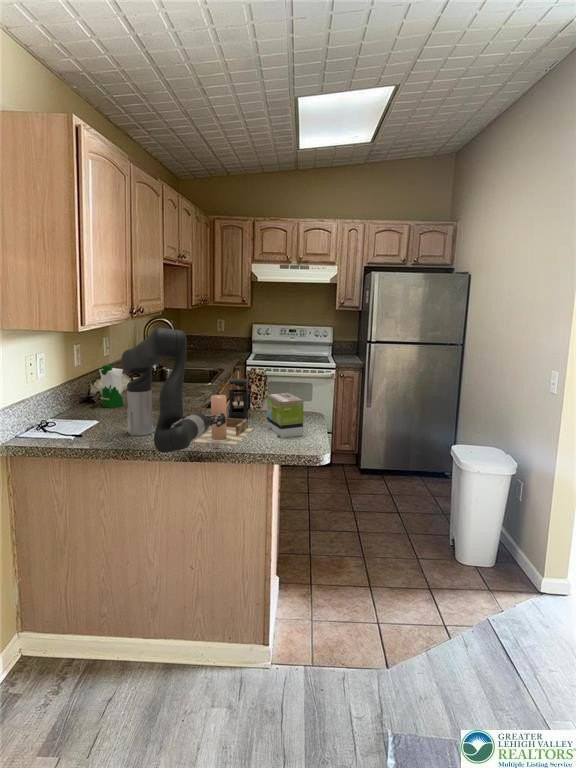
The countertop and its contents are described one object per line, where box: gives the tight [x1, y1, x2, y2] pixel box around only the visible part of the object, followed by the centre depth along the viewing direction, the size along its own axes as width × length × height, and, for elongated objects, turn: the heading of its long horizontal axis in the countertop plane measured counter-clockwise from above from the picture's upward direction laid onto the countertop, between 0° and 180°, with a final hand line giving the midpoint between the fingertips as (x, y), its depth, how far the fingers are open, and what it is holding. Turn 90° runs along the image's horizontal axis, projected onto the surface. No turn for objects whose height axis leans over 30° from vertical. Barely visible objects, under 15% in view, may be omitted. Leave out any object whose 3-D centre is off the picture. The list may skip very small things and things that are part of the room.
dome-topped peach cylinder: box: [210, 394, 227, 440], centre depth 201 cm, size 8×6×16 cm
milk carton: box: [99, 364, 124, 409], centre depth 257 cm, size 9×9×20 cm
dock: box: [193, 417, 255, 446], centre depth 207 cm, size 25×16×4 cm, turn 167°
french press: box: [227, 365, 251, 419], centre depth 237 cm, size 12×9×23 cm
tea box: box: [266, 392, 304, 439], centre depth 214 cm, size 15×10×15 cm, turn 24°
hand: (211, 415), depth 192 cm, fingers open, 8 cm apart
